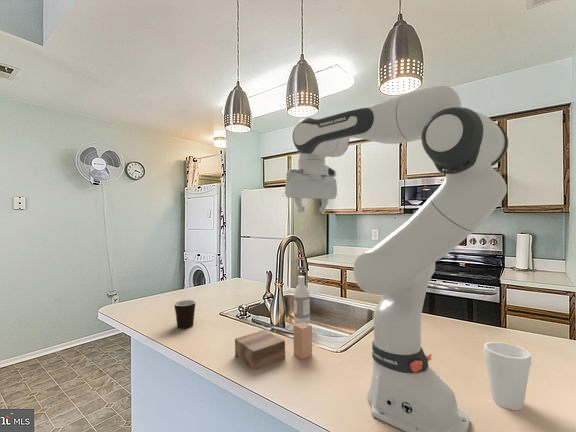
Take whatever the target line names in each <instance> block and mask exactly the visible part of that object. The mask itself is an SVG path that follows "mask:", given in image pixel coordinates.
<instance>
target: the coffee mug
mask: <svg viewBox="0 0 576 432" xmlns="http://www.w3.org/2000/svg"><path fill="white" fill-rule="evenodd" d="M174 312H175V313H174V314H175V319H176V325H177V326H176V327H177V329H179V330H185V329H186V330H187V329H190V328H192V327H193V326H194V321H195V312H196V301H195V300H193V299H184V300H180V301H176V302H175V303H174Z"/></svg>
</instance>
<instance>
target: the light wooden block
mask: <svg viewBox="0 0 576 432" xmlns="http://www.w3.org/2000/svg"><path fill="white" fill-rule="evenodd" d="M292 327H293V355H294V356H295V357H297V358H299V359H300V360H304V359H306V358H308V357H311V356H313V325H311V324H309V323H305V322H301V323H295V324H293V326H292Z"/></svg>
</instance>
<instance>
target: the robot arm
mask: <svg viewBox="0 0 576 432" xmlns="http://www.w3.org/2000/svg"><path fill="white" fill-rule="evenodd" d="M353 138H354V139H360V140H366V141H367V140H368V141H371V142H375V143H381V144H388V145H389V144H390V145H393V144H405V143H410V142H415V141H419V140H421V144H422V148H423V149H424V151H425V153H426V155H427V157H429V159H431V161H432V162H433V164H434V166H435V167H436V169H437V171H438V172H439V173H441V174H445V178H444V180H443V182H442V183H441V185H440V186H439V187H438V188H437V189H436V190H435V191H434V192H433V193H432V194H431V195H430V196H429V197H428V199H427V200H425V202H424V203H423V204H422V205H421V206H420V207H419V208H418V209H417V210H416V212H414V214H413V215H411V217H410V218H409V219H408V220H406V222H404V223H403V224H402V225H401V226H399V227H398V228H397V229H395V230H394V231H393V232H391V233H390V234H389V235H388V236H386V237H384V239H382V240H381V241H380V242H378V243H377V244H376V245H375V246H373V247H372V248H370V249H368V250H367V251H365V252H363V253H361V254H360V255H358V256H357V258H356V259H355V261H354V263H353V268H352V269H353V271H352V274H353V278H354V280H355V283H356V285H357V287H359V288H360V290H362V291H364V292H365V293H366V294H370V295H381V299H380V300H379V302H378V304H377V305H376V307H375V309H374V312H373V341H372V342H371V345H372V347H371V351H372V352H371V357H372V359H373V368H372V377H371V384H370V387H369V390H368V394H367V399H368V402H369V404H370V405H371V416H372V417H374V418H376V419H378V420H380V421H382V422H385V423H386V424H389V425H391V426H393V427H395V428H397V429H400V430H402V431H404V432H469V429H470V419H469V415H468V414H467V413H466V412H464V411H463V410H461V409H459V408H458V404H457V399H456V396H455V393H454V391H453V389H452V388H451V387H450V386H449V385H448V384H446V382H445V381H444V380H443V379H442V378H441V377H440V376H439V375H438V374H437V373H436V372H435V371H434V370H433V369H432V367H431V366H430V365H429V362H430V361H431V360H432V359H433V358H432V353H430V354H428V355H426V354H425V351H424V350H423V347H422V345H421V344H422V335H421V334H422V322H421V321H422V314H423V307H424V303H425V299H426V293H427V290H428V286H429V283H430V280H431V278H432V277H433V275H434V273H435V271H436V262H437V261H439V260H440V259H442V258H444V257H446V256H448V254H450V253H451V252H453V250H454V249H455V248H456V247H458V246H459V245H460V244H461V243H462V242H464V240H466V239H467V238H468V237H469V236H470V235H471V234H472V233H474V231H476V230H477V229H478V227H480V226H481V225H482V224H483V223H484V222H485V221H486V220H488V218H489V217H490V216H491V214H492V213H493V212H494V211H495V210H496V209H497V207H498V206H499V205H500V204H501V202H502V201H503V200H504V198H505V196H506V194H507V191H508V187H507V184H506V181H505V179H504V178H503V176H502V175H501V174H500V172H498V171H497V170H495V169H494V168H493V166H495V165H496V164H498V163H500V161H501V160H503V158H504V157H505V155H506V153H507V151H508V148H509V137H508V134H507V133H506V130H505V129H504V128H503V127H502V126H501V125H500V124H499V123H496V122H494V121H493V120H492V119H491V118H490V117H489V116H488V115H485V114H483V113H481V112H477V111H474V110H472V109H470V108H467V107H463V106H462V102H461V99H460V96H459V94H458V93H457V91H456V90H455V89H454V88H453V87H450V86H447V85H440V86H433V87H432V86H431V87H428V88H424V89H418V90H415V91H411V92H408V93H405V94H402V95H399V96H397V97H393V98H391V99H388V100H385V101H382V102H379V103H375V104H371V105H368V106H365V107H361V108H357V109H353V110H349V111H344V112H341V113H337V114H333V115H330V116H327V117H322V118H319V119H316V118H311V117H304V118H303V119H301V120H300V121H298V123H297V124H296V125H295V127H294V128H293V131H292V142H293V144H294V147H295V149H296V150H297V151H298V153H299V155H298V156H299V157H298V162H297V163H298V165H297V166H298V167H297V168H289V170H287V171H286V179H285V187H284V194H285V195H284V196H286V198H287V199H294V203H295V205H296V207H297V213H305V209H306V208H305V206H303V204H302V203H303V199H307V200H309V199H310V200H311V199H313V200H320V203H321V206H320V207H318V209H319V210H318V212H319V213H326V212H327V211H326V210H327V205H328V204H329V200H335V199H336V198H337V196H338V187H337V180H336V176H337V171H336V170H335V169H334V168H332V167H330V166H329V165H327V164H326V158H327V157H331V158H338V157H341V156H343V155H344V154H345V153H346V152H347V150H348V148H349V144H350V139H353Z"/></svg>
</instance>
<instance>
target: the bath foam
mask: <svg viewBox="0 0 576 432" xmlns="http://www.w3.org/2000/svg"><path fill="white" fill-rule="evenodd" d="M305 277H306V276H305V275H298V276H297V286H296V288H295V289H294V292H293V322H294V323H295V324H298V323H301V322H305V323H307V324H309V323H310V322H311V313H310V311H311V309H310V298H311V297H310V292H309V289H308V287H307V285H306V283H305V282H306V281H305Z"/></svg>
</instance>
